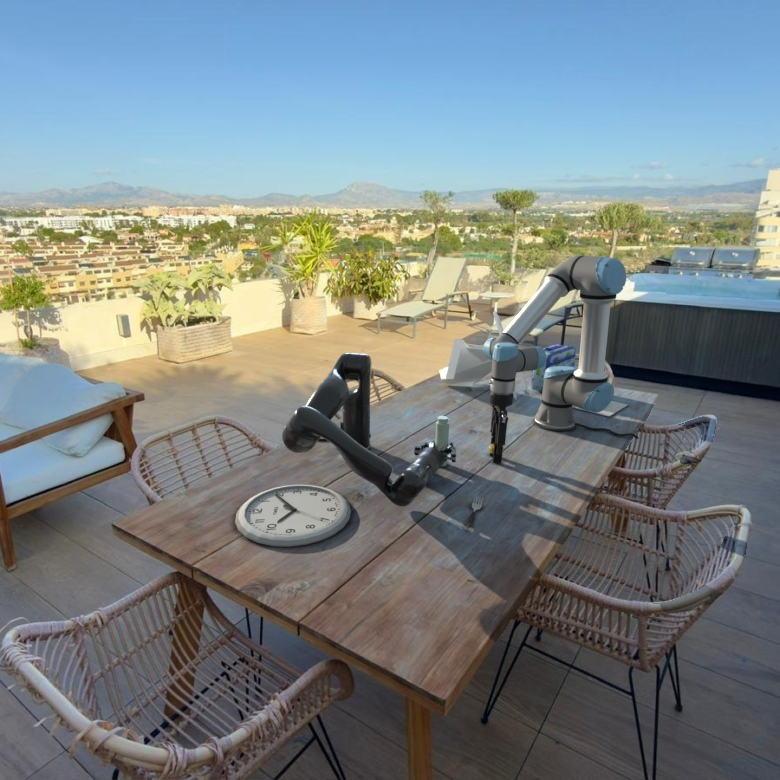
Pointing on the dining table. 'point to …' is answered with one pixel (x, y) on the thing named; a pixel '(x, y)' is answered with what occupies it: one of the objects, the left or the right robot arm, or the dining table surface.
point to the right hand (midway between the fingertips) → (495, 458)
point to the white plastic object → (472, 363)
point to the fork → (475, 507)
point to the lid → (491, 448)
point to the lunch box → (553, 363)
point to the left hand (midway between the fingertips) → (444, 443)
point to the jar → (442, 434)
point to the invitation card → (609, 408)
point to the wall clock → (293, 515)
